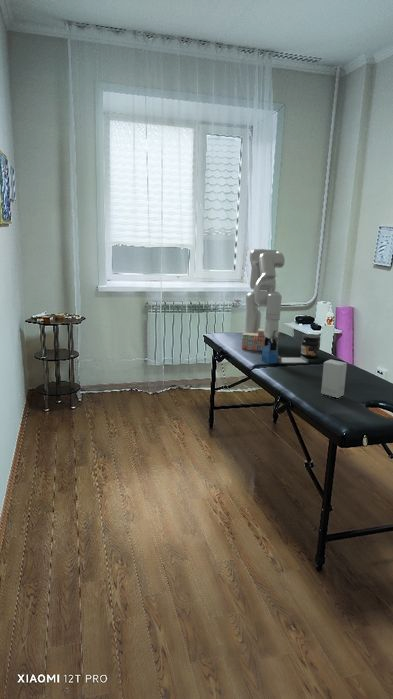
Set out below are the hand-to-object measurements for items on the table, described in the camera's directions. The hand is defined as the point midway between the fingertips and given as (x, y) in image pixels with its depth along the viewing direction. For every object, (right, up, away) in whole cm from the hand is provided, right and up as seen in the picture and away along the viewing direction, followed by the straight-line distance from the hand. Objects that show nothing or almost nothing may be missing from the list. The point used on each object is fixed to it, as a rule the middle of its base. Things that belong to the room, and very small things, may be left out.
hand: (270, 347), depth 249 cm
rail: (+4, -7, +4) cm, 10 cm away
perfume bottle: (0, -8, +3) cm, 8 cm away
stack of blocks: (-2, -1, +27) cm, 27 cm away
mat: (+13, -7, +6) cm, 16 cm away
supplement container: (+25, -5, +17) cm, 31 cm away
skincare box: (+20, -22, -46) cm, 54 cm away
